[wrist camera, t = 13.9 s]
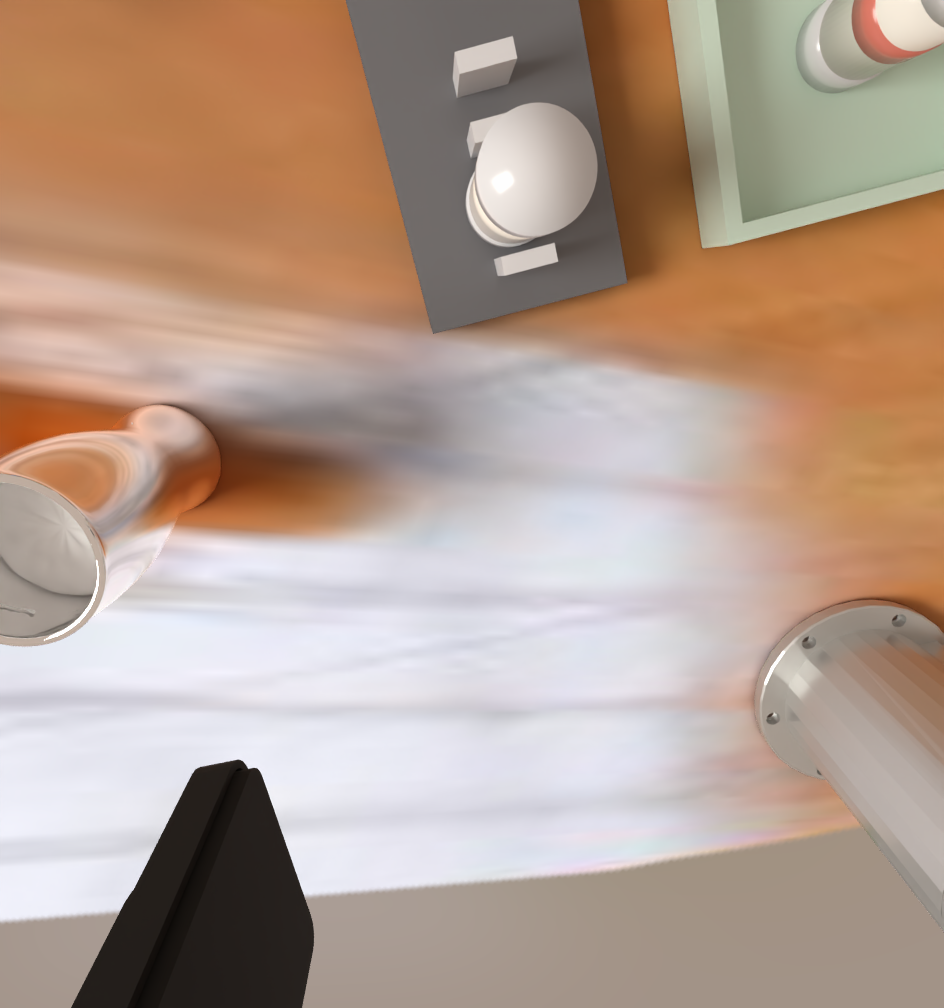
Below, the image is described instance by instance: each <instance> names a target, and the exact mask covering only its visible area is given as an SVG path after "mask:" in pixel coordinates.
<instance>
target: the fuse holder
mask: <svg viewBox="0 0 944 1008" xmlns="http://www.w3.org/2000/svg"><path fill="white" fill-rule="evenodd" d="M346 3H347V7H348V11H349V15H350V18H351V22H352V26H353V30H354V34H355V38H356V41H357V45H358V49H359V53H360V57H361V60H362V64H363V68H364V72H365V76H366V80H367V83H368V87H369V91H370V95H371V99H372V103H373V106H374V110H375V114H376V118H377V122H378V125H379V129H380V133H381V137H382V141H383V145H384V148H385V152H386V156H387V160H388V164H389V167H390V171H391V175H392V179H393V183H394V187H395V190H396V194H397V198H398V202H399V206H400V210H401V213H402V217H403V221H404V225H405V229H406V232H407V236H408V240H409V244H410V248H411V252H412V255H413V259H414V263H415V267H416V271H417V274H418V278H419V282H420V286H421V290H422V294H423V297H424V301H425V305H426V309H427V313H428V316H429V320H430V324H431V328H432V332H433V334H434V333H438V332H442V331H446V330H450V329H454V328H457V327H461V326H465V325H469V324H473V323H476V322H480V321H484V320H488V319H492V318H496V317H499V316H503V315H507V314H511V313H515V312H518V311H522V310H526V309H530V308H534V307H538V306H541V305H545V304H549V303H553V302H557V301H561V300H564V299H568V298H572V297H576V296H580V295H583V294H587V293H591V292H595V291H599V290H603V289H606V288H610V287H614V286H618V285H622V284H625V283H627V277H626V271H625V266H624V260H623V254H622V248H621V243H620V237H619V231H618V225H617V220H616V214H615V208H614V202H613V197H612V191H611V185H610V179H609V174H608V168H607V162H606V156H605V151H604V145H603V139H602V133H601V128H600V122H599V116H598V110H597V105H596V99H595V93H594V87H593V82H592V76H591V70H590V64H589V59H588V53H587V47H586V41H585V36H584V30H583V24H582V18H581V13H580V7H579V1H578V0H346ZM539 102H541V103H549V104H553V105H557V106H559V107H561V108H564V109H565V110H567V111H569V112H570V113H572V114H573V115H574V116H575V117H577V118H578V119H579V121H580V122H581V123H582V124H583V125H584V127H585V128H586V129H587V131H588V133H589V135H590V136H591V138H592V141H593V144H594V146H595V151H596V155H597V179H596V184H595V188H594V191H593V194H592V196H591V198H590V200H589V202H588V204H587V206H586V207H585V209H584V210H583V211H582V213H581V214H580V215H579V216H578V217H577V218H576V219H575V220H574V221H573V222H571V223H570V224H568V225H567V226H565V227H564V228H562V229H560V230H558V231H555V232H553V233H550V234H547V235H545V236H541V237H536V238H534V239H533V240H531V241H529V242H527V243H525V244H522V245H520V246H517V247H512V248H501V247H496V246H493V245H491V244H489V243H487V242H485V241H484V240H482V239H481V238H480V237H479V236H478V235H477V234H476V233H475V231H474V230H473V229H472V227H471V225H470V223H469V221H468V218H467V214H466V209H465V198H466V192H467V189H468V185H469V182H470V179H471V177H472V175H473V173H474V172H475V166H476V161H477V158H478V155H479V152H480V149H481V146H482V143H483V141H484V139H485V136H486V135H487V133H488V131H489V130H490V128H491V127H492V126H493V125H494V123H495V122H496V121H497V120H498V119H499V118H500V117H501V116H503V115H504V114H505V113H507V112H508V111H510V110H512V109H514V108H516V107H518V106H521V105H524V104H529V103H539Z"/></svg>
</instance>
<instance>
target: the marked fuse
mask: <svg viewBox="0 0 944 1008" xmlns="http://www.w3.org/2000/svg"><path fill="white" fill-rule="evenodd" d="M943 43H944V0H825V1H824V2H823V3H821V4H820V5H818V6H817V7H816V8H815V9H814V10H813V11H812V12H811V13H810V14H809V15H808V17H807V18H806V20H805V21H804V23H803V25H802V27H801V29H800V31H799V34H798V38H797V43H796V61H797V66H798V69H799V71H800V74H801V75H802V77H803V79H804V80H805V81H806V82H807V84H809V85H810V86H811V87H812V88H814V89H815V90H818V91H820V92H823V93H830V94H831V93H840V92H843V91H846V90H848V89H851V88H853V87H855V86H857V85H859V84H861V83H864V82H866V81H868V80H870V79H872V78H874V77H876V76H878V75H879V74H881V73H882V72H883V71H884V70H886V69H888V68H890V67H892V66H895V65H897V64H899V63H903V62H906V61H908V60H910V59H913V58H915V57H917V56H919V55H921V54H923V53H926V52H928V51H930V50H932V49H934V48H936V47H938V46H940V45H941V44H943Z"/></svg>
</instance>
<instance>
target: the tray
mask: <svg viewBox="0 0 944 1008" xmlns="http://www.w3.org/2000/svg"><path fill="white" fill-rule="evenodd" d="M824 1H825V0H667V2H668V9H669V16H670V23H671V30H672V37H673V44H674V52H675V59H676V66H677V73H678V80H679V87H680V94H681V101H682V109H683V116H684V123H685V130H686V137H687V144H688V151H689V158H690V166H691V173H692V180H693V187H694V194H695V201H696V208H697V215H698V223H699V230H700V237H701V244H702V248H710V247H719V246H728V245H732V244H736V243H740V242H743V241H747V240H751V239H755V238H759V237H762V236H766V235H770V234H774V233H778V232H781V231H785V230H789V229H793V228H797V227H801V226H804V225H808V224H812V223H816V222H820V221H823V220H827V219H831V218H835V217H839V216H842V215H846V214H850V213H854V212H858V211H862V210H865V209H869V208H873V207H877V206H881V205H884V204H888V203H892V202H896V201H900V200H903V199H907V198H911V197H915V196H919V195H923V194H926V193H930V192H934V191H938V190H942V189H944V43H943V44H941V45H940V46H938V47H936V48H934V49H932V50H930V51H928V52H926V53H923V54H921V55H919V56H917V57H915V58H913V59H910V60H908V61H906V62H903V63H899V64H897V65H895V66H892V67H890V68H888V69H886V70H884V71H883V72H882V73H881V74H879V75H878V76H876V77H874V78H872V79H870V80H868V81H866V82H864V83H861V84H859V85H857V86H855V87H853V88H851V89H848V90H846V91H843V92H840V93H831V94H830V93H823V92H820V91H818V90H815V89H814V88H812V87H811V86H810V85H809V84H807V82H806V81H805V80H804V79H803V77H802V75H801V74H800V71H799V69H798V66H797V61H796V43H797V38H798V34H799V31H800V29H801V27H802V25H803V23H804V21H805V20H806V18H807V17H808V15H809V14H810V13H811V12H812V11H813V10H814V9H815V8H816V7H817V6H818V5H820V4H821V3H823V2H824Z"/></svg>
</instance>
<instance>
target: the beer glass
mask: <svg viewBox="0 0 944 1008" xmlns="http://www.w3.org/2000/svg"><path fill="white" fill-rule="evenodd" d="M220 472H221V456H220V452H219V448H218V445H217V443H216V441H215V439H214V437H213V435H212V434H211V432H210V431H209V430H208V428H207V427H206V426H205V425H204V424H203V423H202V422H201V421H200V420H198V419H197V418H196V417H195V416H193V415H191V414H190V413H188V412H186V411H184V410H182V409H179V408H176V407H172V406H167V405H148V406H143V407H140V408H137V409H135V410H133V411H131V412H129V413H128V414H126V415H125V416H123V417H122V418H121V419H120V420H119V421H118V422H116V424H115V425H114V426H113V427H112V428H111V429H102V430H88V431H77V432H70V433H65V434H59V435H54V436H49V437H45V438H42V439H39V440H36V441H33V442H30V443H28V444H25V445H22V446H19V447H17V448H15V449H13V450H11V451H8V452H6V453H4V454H2V455H0V644H3V645H10V646H21V647H28V646H39V645H45V644H49V643H53V642H56V641H59V640H61V639H64V638H66V637H68V636H70V635H71V634H73V633H75V632H76V631H78V630H79V629H80V628H82V627H83V626H84V625H85V624H86V623H87V622H88V621H89V620H90V619H91V618H93V617H94V616H95V615H97V614H98V613H99V612H101V611H102V610H103V609H105V608H106V607H107V606H109V605H110V604H111V603H112V602H114V601H115V600H116V599H117V598H119V597H120V596H121V595H122V594H123V593H124V592H125V591H127V590H128V589H129V588H130V587H131V586H132V585H133V584H134V583H135V582H136V581H137V580H138V579H139V578H140V577H141V576H142V575H143V574H144V573H145V571H146V570H147V569H148V568H149V567H150V566H151V565H152V563H153V562H154V561H155V559H156V558H157V556H158V555H159V553H160V551H161V550H162V548H163V547H164V545H165V543H166V542H167V540H168V538H169V536H170V534H171V532H172V530H173V528H174V525H175V523H176V521H177V519H178V517H179V515H180V513H182V512H185V511H188V510H190V509H193V508H195V507H196V506H198V505H200V504H201V503H203V502H204V501H205V500H206V499H207V498H208V497H209V496H210V495H211V494H212V492H213V491H214V489H215V488H216V485H217V483H218V481H219V477H220Z"/></svg>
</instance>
